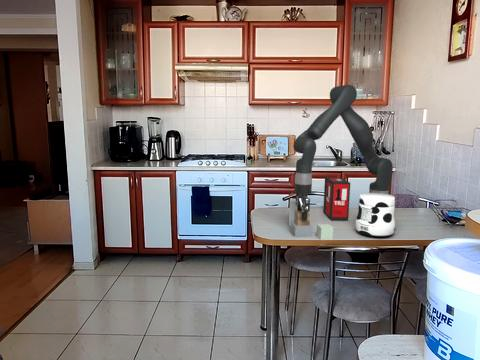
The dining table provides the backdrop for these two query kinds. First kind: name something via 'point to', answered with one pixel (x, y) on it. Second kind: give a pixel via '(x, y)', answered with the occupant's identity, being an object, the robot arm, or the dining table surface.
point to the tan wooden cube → (299, 220)
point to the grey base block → (301, 230)
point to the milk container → (376, 214)
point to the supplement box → (292, 210)
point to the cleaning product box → (336, 199)
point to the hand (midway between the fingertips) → (301, 217)
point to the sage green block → (324, 232)
